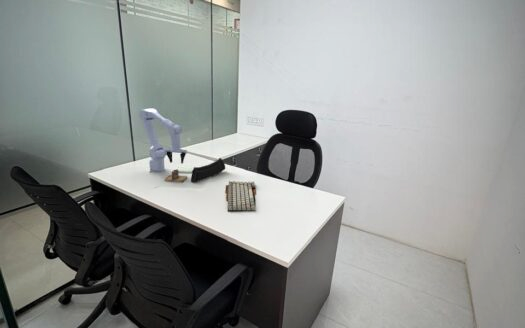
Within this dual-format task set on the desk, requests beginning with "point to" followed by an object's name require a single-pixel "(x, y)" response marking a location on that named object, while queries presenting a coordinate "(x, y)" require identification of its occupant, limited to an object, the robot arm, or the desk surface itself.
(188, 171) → the ticket
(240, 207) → the mechanical keyboard
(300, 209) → the desk surface
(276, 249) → the desk surface
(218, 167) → the black curved slab
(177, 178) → the stub
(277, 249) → the desk surface
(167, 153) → the robot arm
